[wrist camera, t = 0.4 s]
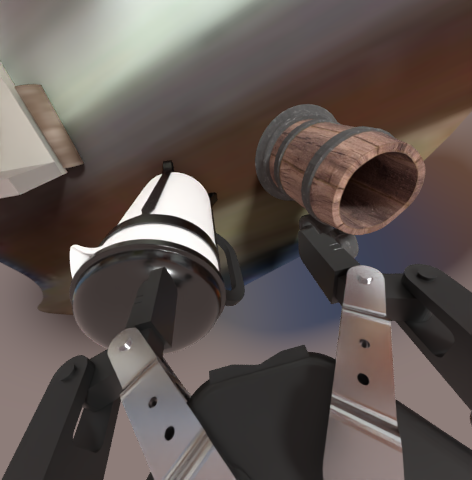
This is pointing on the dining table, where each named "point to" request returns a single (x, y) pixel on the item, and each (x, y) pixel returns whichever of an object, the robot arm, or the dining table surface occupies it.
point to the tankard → (338, 172)
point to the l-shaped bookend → (22, 145)
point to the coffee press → (156, 263)
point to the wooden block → (49, 124)
